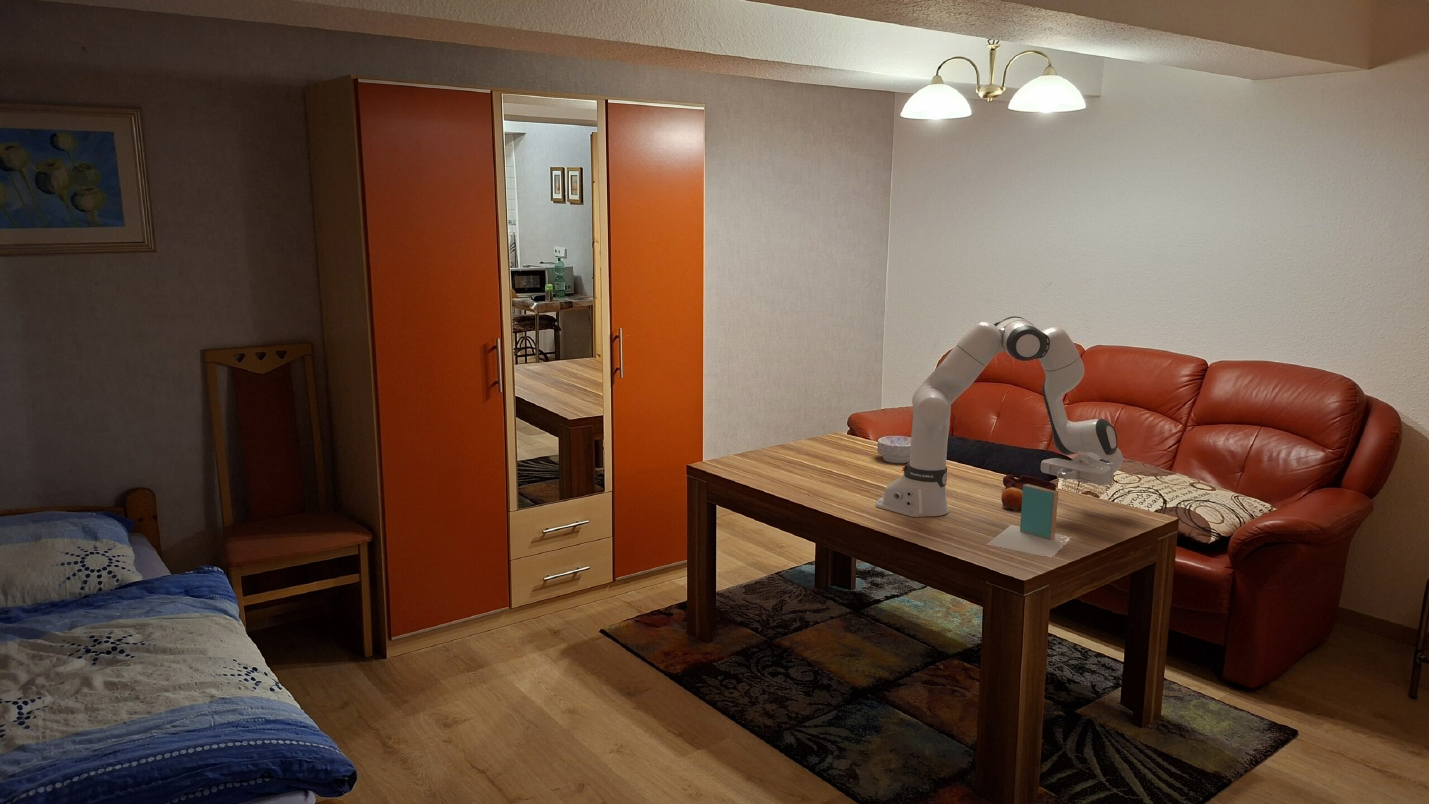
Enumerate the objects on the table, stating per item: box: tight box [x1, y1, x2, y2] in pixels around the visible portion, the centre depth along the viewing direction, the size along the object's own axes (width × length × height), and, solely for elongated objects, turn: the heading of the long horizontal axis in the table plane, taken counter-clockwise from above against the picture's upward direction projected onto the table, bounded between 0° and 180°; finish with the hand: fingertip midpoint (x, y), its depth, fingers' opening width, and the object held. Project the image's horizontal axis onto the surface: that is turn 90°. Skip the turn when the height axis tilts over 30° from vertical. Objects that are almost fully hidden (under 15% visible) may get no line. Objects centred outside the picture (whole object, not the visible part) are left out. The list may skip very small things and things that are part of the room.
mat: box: [986, 524, 1070, 559], centre depth 271 cm, size 18×21×1 cm
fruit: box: [1001, 487, 1023, 512], centre depth 300 cm, size 8×8×8 cm
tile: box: [1019, 484, 1059, 540], centre depth 274 cm, size 2×10×14 cm, turn 40°
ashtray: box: [1002, 473, 1057, 491], centre depth 315 cm, size 18×16×5 cm
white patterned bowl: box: [877, 435, 911, 464], centre depth 358 cm, size 15×15×8 cm
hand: (1061, 475), depth 279 cm, fingers closed
